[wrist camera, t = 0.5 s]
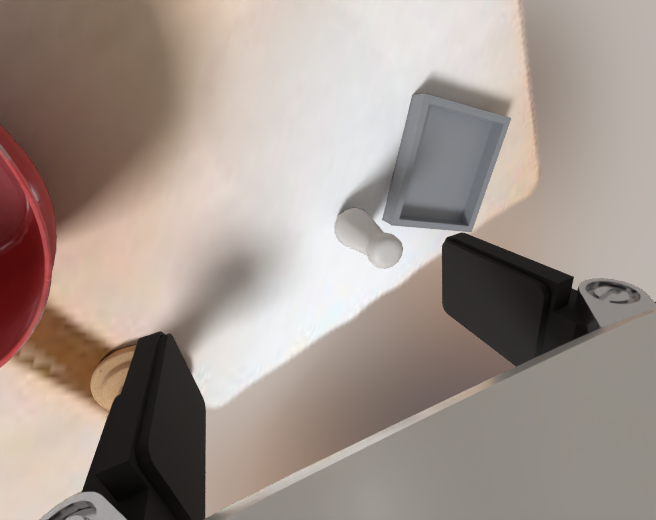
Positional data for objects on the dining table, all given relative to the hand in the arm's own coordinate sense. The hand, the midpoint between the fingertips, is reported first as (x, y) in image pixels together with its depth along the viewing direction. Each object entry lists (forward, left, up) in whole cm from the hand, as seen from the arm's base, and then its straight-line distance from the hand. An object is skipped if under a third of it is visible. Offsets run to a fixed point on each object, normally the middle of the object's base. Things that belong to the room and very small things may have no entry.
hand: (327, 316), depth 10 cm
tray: (-4, +31, -34) cm, 46 cm away
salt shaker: (+6, +17, -34) cm, 38 cm away
